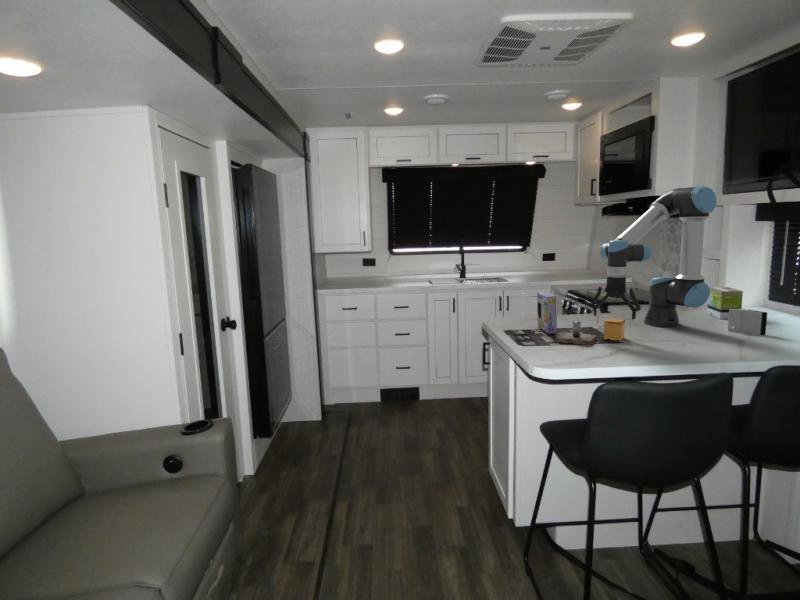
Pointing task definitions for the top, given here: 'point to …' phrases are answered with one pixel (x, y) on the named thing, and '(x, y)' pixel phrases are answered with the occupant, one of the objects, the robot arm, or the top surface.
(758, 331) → the gray black rectangular block
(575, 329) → the post
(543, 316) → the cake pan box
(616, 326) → the orange cube block
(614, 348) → the top surface
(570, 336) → the base plate
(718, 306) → the tea box
